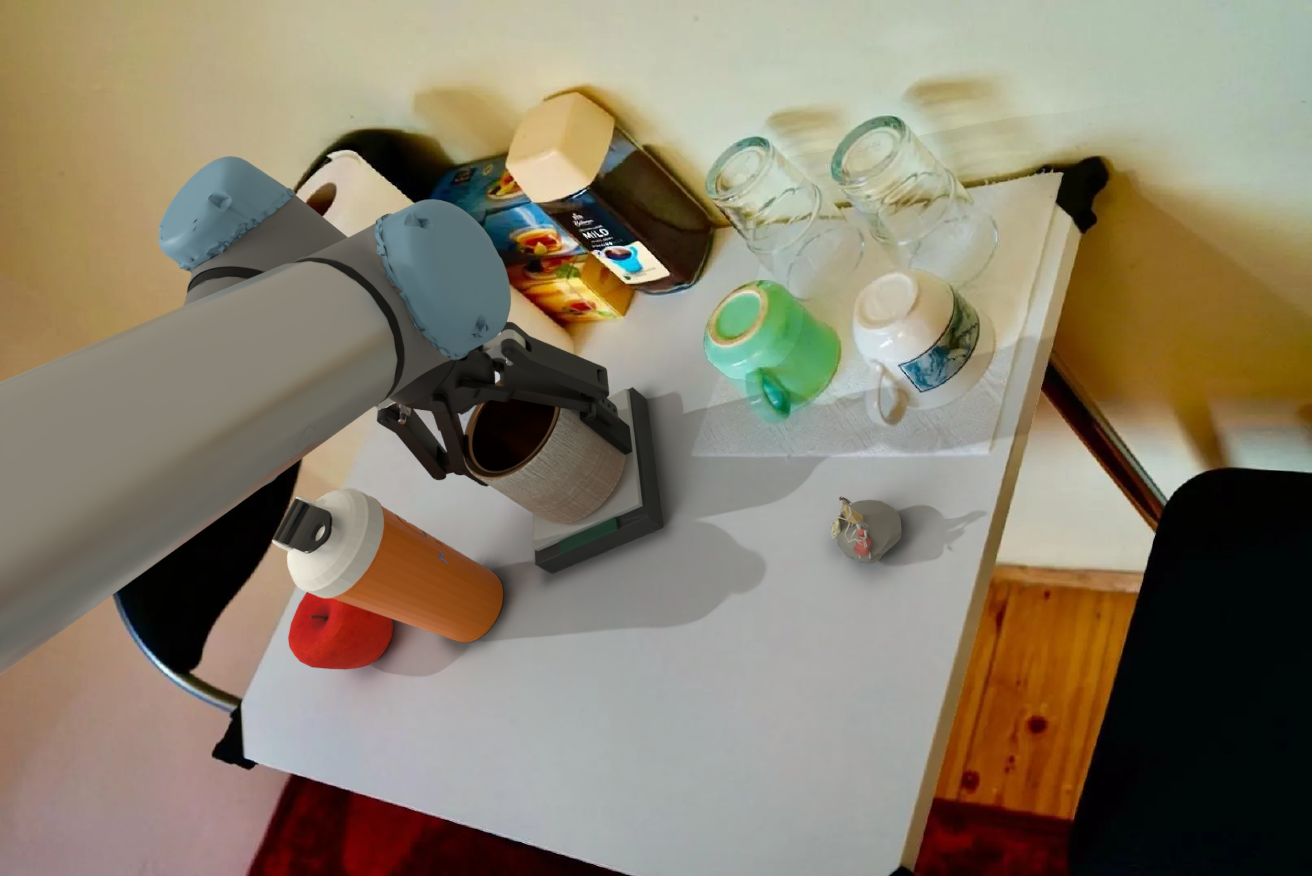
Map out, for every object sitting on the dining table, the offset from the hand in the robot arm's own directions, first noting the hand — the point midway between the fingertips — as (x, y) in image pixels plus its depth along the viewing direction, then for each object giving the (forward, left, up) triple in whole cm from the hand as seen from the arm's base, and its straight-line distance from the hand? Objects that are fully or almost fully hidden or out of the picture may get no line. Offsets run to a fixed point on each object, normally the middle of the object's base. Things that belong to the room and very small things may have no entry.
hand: (573, 466), depth 79 cm
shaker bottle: (-7, +15, -4) cm, 17 cm away
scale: (0, 0, -4) cm, 4 cm away
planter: (0, 0, -1) cm, 1 cm away
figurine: (-15, -23, -4) cm, 28 cm away
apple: (-6, +28, -4) cm, 29 cm away
